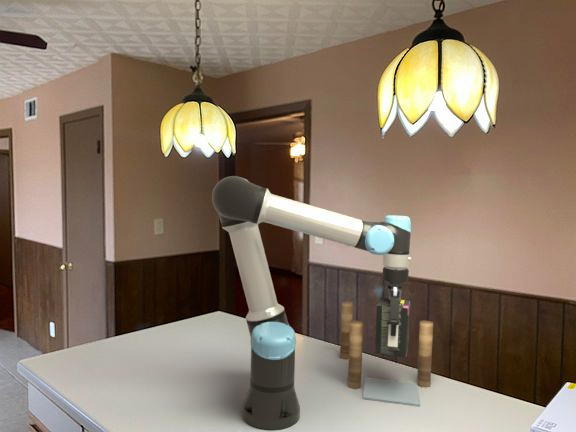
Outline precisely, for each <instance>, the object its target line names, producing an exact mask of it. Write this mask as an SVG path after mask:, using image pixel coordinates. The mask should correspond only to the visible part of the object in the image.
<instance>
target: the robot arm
mask: <svg viewBox="0 0 576 432" xmlns="http://www.w3.org/2000/svg"><path fill="white" fill-rule="evenodd" d="M211 203H212V206H213V208H214V210H215V211H216V212H217V213H218V216H219V221H220V224H221V227H222V229H223V230H225V231H226V232H228V235H229V237H230V241H231V242H230V243H231V245H232V246H231V247H232V249H233V253H234V257H235V261H236V265H237V269H238V272H239V277H240V280H241V284H242V289H243V291H244V296H245V298H246V299H245V300H246V304H247V307H248V312H247V314H246V316H245V321H246V323H247V329H248V332H249V337H250V376H249V377H250V380H249V381H250V385H249V388H248V392H247V394H246V397H245V400H244V402H243V407H242V416H243V417H242V418H243V420H244V421H245V422H246V423H247V424H248V425H250V426H252V427H255V428H256V429H257V428H258V429H262V430H272V431H273V430H274V431H275V430H282V429H283V430H284V429H286V428H289V427H291V426H293V425H296V423H297V422H298V421H299V419H300V417H301V405H300V402H299V398H298V396H297V392H296V389H295V373H296V372H295V371H296V370H295V368H296V367H295V366H296V365H295V364H296V346H297V339H296V331H295V330H294V328H293V327H291V325H290V324H289V322H288V317H287V314H286V310H285V307H284V306H283V305H281V304H279V303H278V300H277V295H276V291H275V288H274V283H273V280H272V275H271V272H270V268H269V264H268V263H269V262H268V260H267V255H266V253H265V252H266V251H265V247H264V244H263V241H262V240H263V239H262V237H261V232H260V229H259V224H261V223H266V224H271V225H273V226H278V227H281V228H284V229H287V230H291V231H295V232H299V233H302V234H306V235H310V236H313V237H317V238H319V239H324V240H328V241H329V242H330V241H331V242H334V243H338V244H341V245H344V246H347V247H350V248H351V247H352V248H354V249H358V250H362V251H366V252H369V254H372V255H376V256H382V266H383V268H382V276H381V278H382V280H383V281H384V282H389V285H387V295H388V296H387V298H389V300H388V301H389V302H390V321H387V324H389V329H388V346H390V347H397V346H398V326H399V325H398V324H399V303H400V301H401V300H402V292H403V291H402V290H403V288H402V285H401V286H400V284H401V283H406V282H408V281H409V271H410V270H409V269H408V268H409V266H410V262H409V261H412V257H411V256H410V249H411V248H410V245H411V235H412V223H411V221H412V220H411V218H410V216H407V215H396V214H395V215H386V216H385V217H384V221H365V220H362V219H359V218H356V217H352V216H348V215H346V214H343V213H339V212H334V211H332V210H328V209H324V208H322V207H318V206H315V205H311V204H307V203H304V202H301V201H297V200H294V199H290V198H287V197H283V196H279V195H276V194H273V193H271V191H270V190H269V188H266V187H262V186H260V185H257V184H255V183H252V182H250V181H249V180H248V179H246V178H244V177H240V176H237V175H232V176H226V177H224V178H222V179H220V180H219V181H218V182H217V183H216V185H215V186H214V188H213V189H212V193H211ZM392 319H396V320H392Z"/></svg>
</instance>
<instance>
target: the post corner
mask: <svg viewBox="0 0 576 432" xmlns="http://www.w3.org/2000/svg"><path fill="white" fill-rule="evenodd" d="M363 337H364V321H361V320H352V321H350V338H349V359H348V370H347V371H348V375H347V387H348V388H349V389H352V390H359V389H361V388H362V369H363V367H362V366H363V365H362V363H363V342H364V341H363V339H364V338H363Z"/></svg>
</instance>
